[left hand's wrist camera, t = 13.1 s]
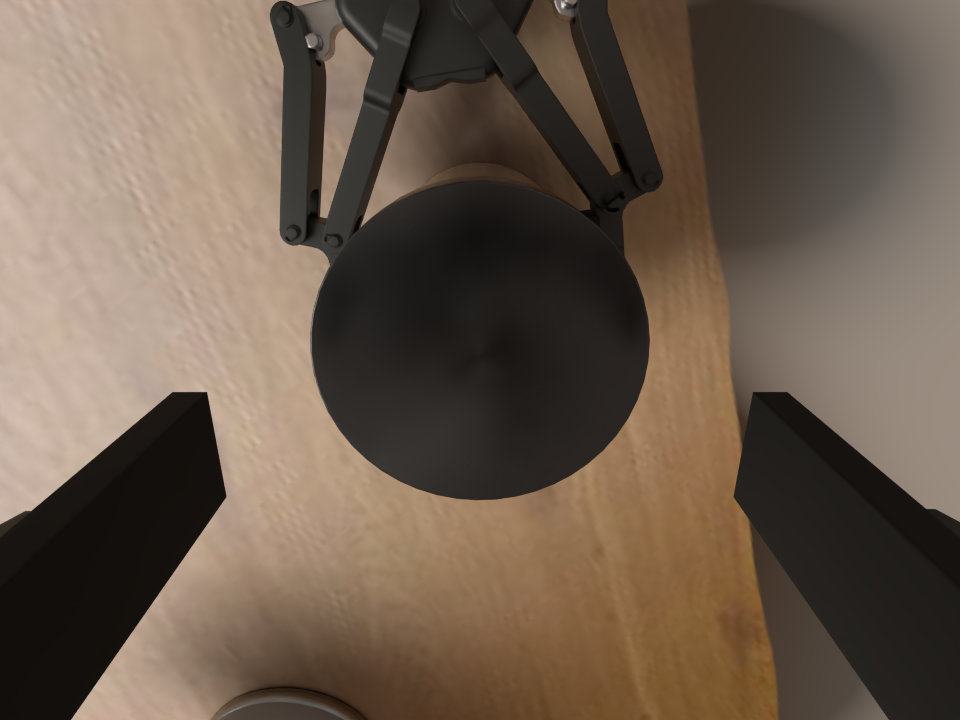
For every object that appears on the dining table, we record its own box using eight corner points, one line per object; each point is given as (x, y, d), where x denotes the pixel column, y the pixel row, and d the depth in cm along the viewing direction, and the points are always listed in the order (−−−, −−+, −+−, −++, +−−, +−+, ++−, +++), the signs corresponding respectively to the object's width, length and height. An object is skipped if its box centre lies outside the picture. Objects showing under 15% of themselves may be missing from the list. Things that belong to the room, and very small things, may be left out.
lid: (549, 110, 18) (558, 107, 16) (678, 389, 21) (700, 418, 19) (266, 274, 20) (240, 292, 18) (426, 507, 23) (421, 545, 21)
